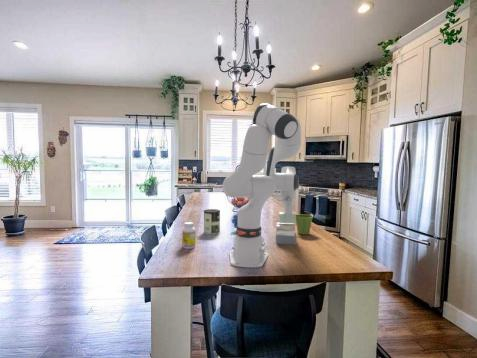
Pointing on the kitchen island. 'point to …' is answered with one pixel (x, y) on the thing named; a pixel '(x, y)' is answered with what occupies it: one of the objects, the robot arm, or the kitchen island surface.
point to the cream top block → (285, 229)
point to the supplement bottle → (188, 236)
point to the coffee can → (211, 221)
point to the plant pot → (303, 223)
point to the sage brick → (283, 218)
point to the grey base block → (286, 239)
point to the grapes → (235, 220)
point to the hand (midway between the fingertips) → (287, 219)
